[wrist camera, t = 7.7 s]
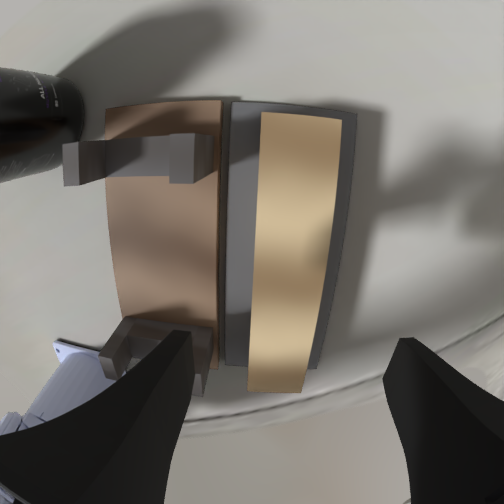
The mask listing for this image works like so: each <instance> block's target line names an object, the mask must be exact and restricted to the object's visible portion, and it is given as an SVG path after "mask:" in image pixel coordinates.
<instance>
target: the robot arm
mask: <svg viewBox="0 0 504 504" xmlns="http://www.w3.org/2000/svg"><path fill="white" fill-rule="evenodd" d="M53 347H54V349H55V352H56V354H57V357H58V359H59V361H60V365H59V367H58V368H57V369H56V371H55V372H54V374H53V375H52V376H51V378H50V379H49V380H48V382H47V383H46V385H45V386H44V387H43V389H42V390H41V392H40V393H39V394H38V396H37V397H36V399H35V400H34V402H33V403H32V405H31V406H30V408H29V409H28V411H27V412H26V413H25V415H23V416H20V414H18V412H14V413H13V412H8V413H7V414H6V415H5V416H4V417H3V418H2V420H1V421H0V504H164V499H165V492H166V486H167V480H168V474H169V469H170V464H171V460H172V456H173V452H174V449H175V446H176V443H177V440H178V437H179V434H180V431H181V428H182V424H183V421H184V418H185V415H186V412H187V409H188V406H189V403H190V400H191V395H192V390H193V384H194V379H195V367H194V357H193V346H192V334H191V331H182V330H172V331H171V332H170V333H169V334H168V335H167V336H166V337H165V338H164V339H163V340H162V341H161V342H160V343H159V344H158V345H157V346H156V347H155V348H154V349H153V350H152V351H151V352H150V353H148V354H147V355H146V356H145V357H144V358H143V359H142V360H141V361H140V362H139V363H137V364H136V365H135V366H134V367H133V368H132V369H131V370H130V371H128V372H127V373H126V371H124V373H123V375H122V377H121V378H120V379H118V380H117V381H115V380H111V379H107V378H106V377H105V375H104V372H103V369H102V367H101V364H100V361H99V358H98V355H99V353H100V352H98V351H94V350H89V349H86V348H82V347H78V346H74V345H70V344H67V343H63V342H60V341H56V340H55V341H54V342H53ZM383 384H384V389H385V394H386V398H387V402H388V405H389V408H390V411H391V414H392V417H393V420H394V423H395V426H396V428H397V431H398V434H399V437H400V440H401V443H402V446H403V449H404V453H405V457H406V462H407V468H408V474H409V482H410V493H411V504H504V401H502V400H500V399H498V398H497V397H495V396H493V395H492V394H490V393H488V392H486V391H485V390H483V389H482V388H480V387H479V386H477V385H476V384H474V383H473V382H472V381H470V380H469V379H467V378H466V377H465V376H463V375H462V374H461V373H459V372H458V371H457V370H455V369H454V368H453V367H452V366H450V365H449V364H448V363H447V362H445V361H444V360H443V359H442V358H440V357H439V356H438V355H437V354H435V353H434V352H433V351H431V350H430V349H429V348H428V347H426V346H425V345H424V344H422V343H421V342H419V341H418V340H417V339H415V338H413V337H412V338H399V341H398V343H397V346H396V348H395V351H394V353H393V356H392V358H391V361H390V363H389V365H388V367H387V370H386V372H385V374H384V376H383Z"/></svg>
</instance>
